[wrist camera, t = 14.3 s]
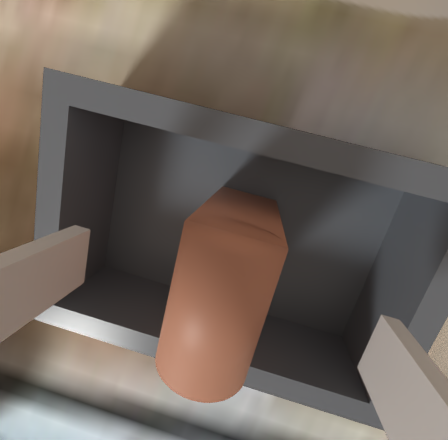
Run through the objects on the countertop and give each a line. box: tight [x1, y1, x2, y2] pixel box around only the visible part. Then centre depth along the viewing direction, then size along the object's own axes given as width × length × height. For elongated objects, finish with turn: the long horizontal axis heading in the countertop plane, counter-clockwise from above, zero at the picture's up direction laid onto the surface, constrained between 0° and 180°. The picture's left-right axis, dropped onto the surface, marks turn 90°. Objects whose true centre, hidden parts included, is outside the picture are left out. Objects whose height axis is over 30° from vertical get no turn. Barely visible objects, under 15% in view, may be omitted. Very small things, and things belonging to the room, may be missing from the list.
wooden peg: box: [155, 186, 288, 403], centre depth 15 cm, size 4×6×12 cm, turn 166°
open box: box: [34, 67, 448, 431], centre depth 19 cm, size 23×15×7 cm, turn 77°
